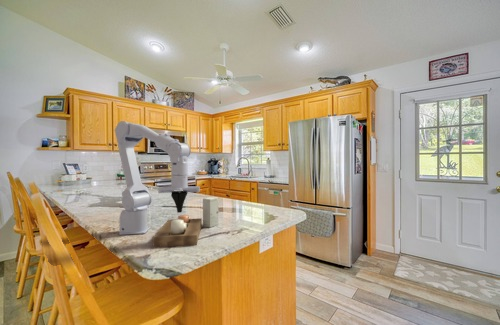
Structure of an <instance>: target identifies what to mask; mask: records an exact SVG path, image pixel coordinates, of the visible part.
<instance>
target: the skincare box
mask: <svg viewBox="0 0 500 325" xmlns="http://www.w3.org/2000/svg"><path fill="white" fill-rule="evenodd" d="M218 225H219V197H217V196H216V197H215V196H210V197H209V196H208V197H205V198H202V227H205V228H213V227H215V226H218Z"/></svg>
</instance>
